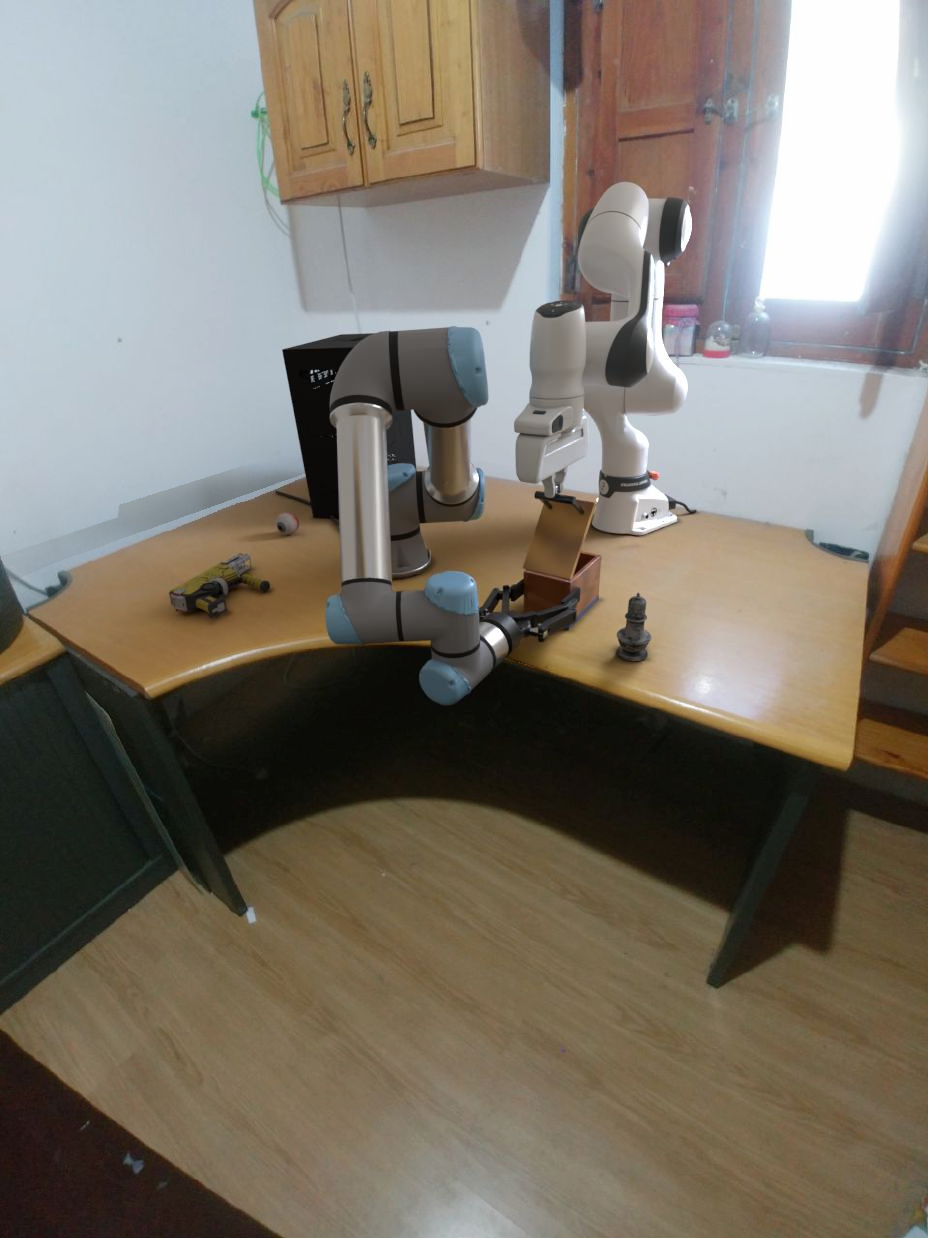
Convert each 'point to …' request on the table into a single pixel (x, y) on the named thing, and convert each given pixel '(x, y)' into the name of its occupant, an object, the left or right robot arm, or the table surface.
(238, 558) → the toy gun
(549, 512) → the lid
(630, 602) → the grey chess piece
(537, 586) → the chest
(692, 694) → the table surface
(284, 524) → the eyeball
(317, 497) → the black computer case
